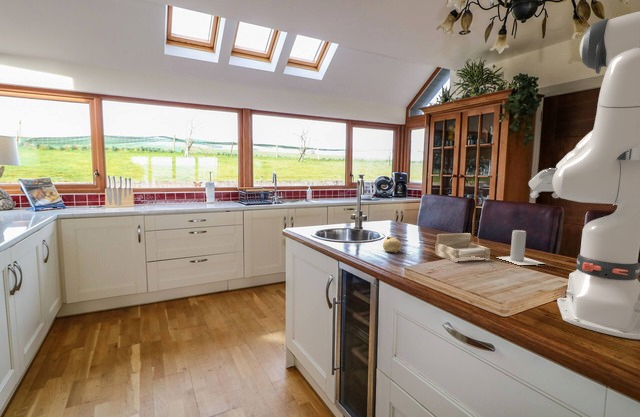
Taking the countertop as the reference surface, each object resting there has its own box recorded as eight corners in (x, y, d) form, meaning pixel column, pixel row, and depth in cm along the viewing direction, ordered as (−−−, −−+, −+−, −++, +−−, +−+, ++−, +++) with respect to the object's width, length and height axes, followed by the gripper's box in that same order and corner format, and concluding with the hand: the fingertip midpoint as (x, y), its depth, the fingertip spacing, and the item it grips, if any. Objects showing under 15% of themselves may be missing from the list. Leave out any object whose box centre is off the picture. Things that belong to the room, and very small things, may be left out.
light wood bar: (484, 260, 134) (485, 249, 134) (458, 262, 131) (459, 251, 131) (477, 258, 138) (478, 247, 138) (451, 259, 135) (452, 248, 135)
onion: (394, 249, 152) (395, 234, 152) (404, 253, 145) (405, 237, 144) (379, 250, 150) (380, 235, 149) (388, 254, 142) (389, 238, 142)
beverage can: (508, 259, 134) (510, 230, 132) (512, 257, 137) (514, 229, 136) (522, 262, 130) (524, 232, 129) (525, 260, 134) (527, 231, 132)
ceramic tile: (545, 264, 129) (545, 263, 129) (519, 266, 126) (519, 265, 126) (520, 257, 141) (520, 255, 141) (496, 258, 138) (496, 257, 138)
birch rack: (489, 260, 134) (491, 239, 133) (455, 262, 131) (456, 240, 130) (466, 252, 148) (467, 232, 147) (435, 254, 144) (436, 233, 143)
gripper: (552, 175, 102) (524, 203, 113) (603, 176, 107) (571, 203, 117) (541, 161, 106) (514, 190, 116) (590, 162, 111) (560, 190, 121)
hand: (543, 196), depth 117 cm, fingers open, 8 cm apart
